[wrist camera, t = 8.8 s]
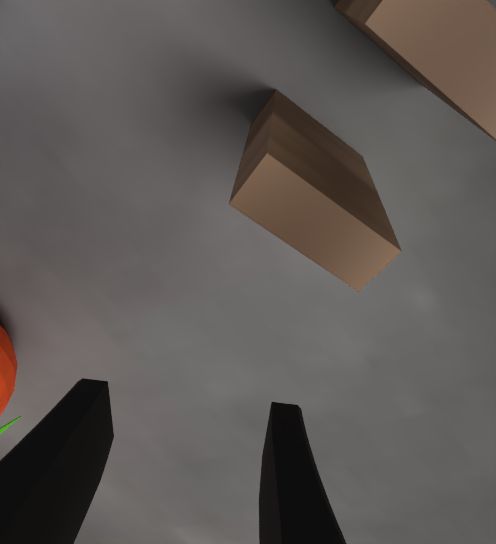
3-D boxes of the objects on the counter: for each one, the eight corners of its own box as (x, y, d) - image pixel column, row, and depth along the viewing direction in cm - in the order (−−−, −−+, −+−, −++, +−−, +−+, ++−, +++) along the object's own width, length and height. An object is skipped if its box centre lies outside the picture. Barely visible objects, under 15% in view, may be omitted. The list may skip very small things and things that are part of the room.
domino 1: (251, 124, 16) (229, 203, 10) (276, 89, 16) (266, 153, 10) (335, 187, 17) (358, 291, 11) (362, 156, 17) (401, 251, 11)
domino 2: (333, 7, 14) (364, 23, 8) (367, -40, 13) (427, -59, 8) (424, 86, 15) (509, 151, 9) (460, 46, 14) (576, 88, 9)
